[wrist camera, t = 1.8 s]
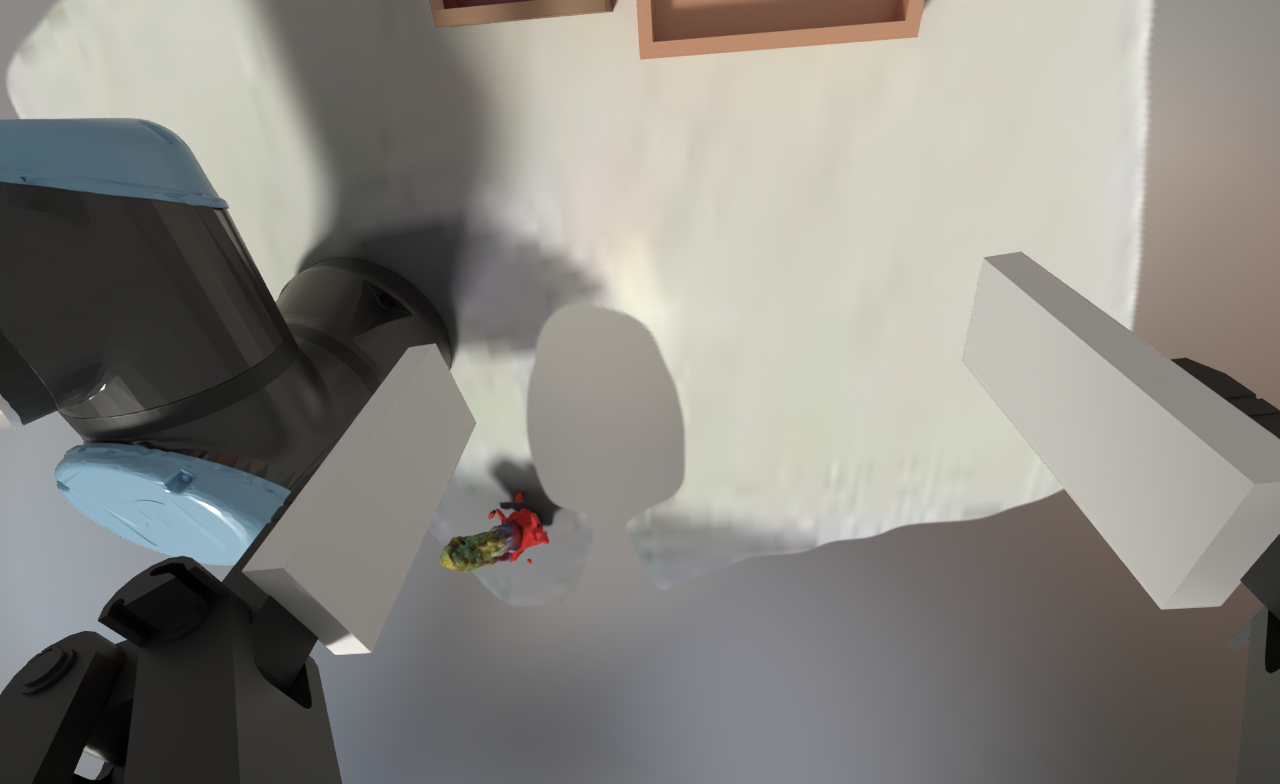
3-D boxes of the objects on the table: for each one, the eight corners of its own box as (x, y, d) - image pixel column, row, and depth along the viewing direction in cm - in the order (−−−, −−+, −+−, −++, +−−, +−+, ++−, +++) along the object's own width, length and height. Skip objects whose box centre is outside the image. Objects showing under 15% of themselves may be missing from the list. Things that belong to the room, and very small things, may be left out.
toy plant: (512, 478, 65) (423, 500, 55) (570, 490, 59) (481, 519, 49) (514, 540, 65) (426, 573, 56) (571, 559, 59) (484, 600, 50)
